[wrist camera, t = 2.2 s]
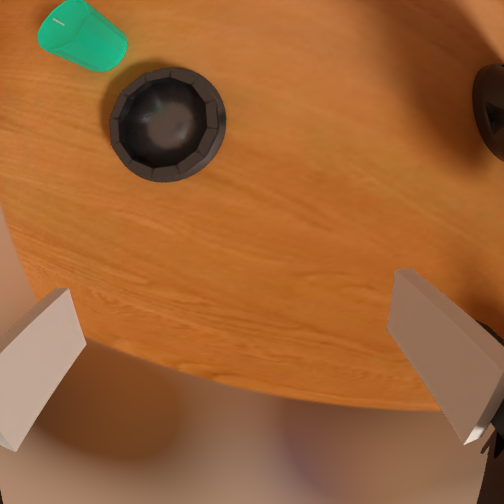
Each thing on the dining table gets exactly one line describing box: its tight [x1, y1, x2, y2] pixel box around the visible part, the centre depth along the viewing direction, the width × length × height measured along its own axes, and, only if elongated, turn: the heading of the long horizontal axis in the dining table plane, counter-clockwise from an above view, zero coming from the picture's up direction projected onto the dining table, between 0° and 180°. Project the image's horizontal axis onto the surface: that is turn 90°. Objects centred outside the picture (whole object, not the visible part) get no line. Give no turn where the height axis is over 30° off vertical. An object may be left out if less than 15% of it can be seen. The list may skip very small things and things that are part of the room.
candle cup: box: [109, 68, 226, 182], centre depth 29 cm, size 13×13×3 cm
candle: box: [37, 0, 128, 72], centre depth 22 cm, size 6×6×12 cm
